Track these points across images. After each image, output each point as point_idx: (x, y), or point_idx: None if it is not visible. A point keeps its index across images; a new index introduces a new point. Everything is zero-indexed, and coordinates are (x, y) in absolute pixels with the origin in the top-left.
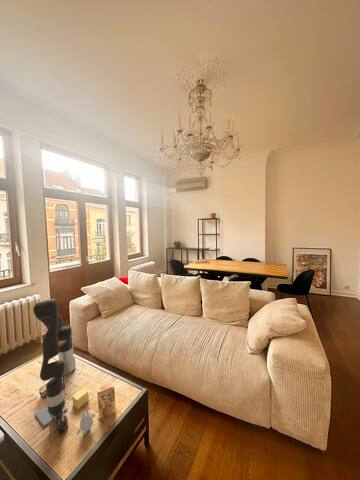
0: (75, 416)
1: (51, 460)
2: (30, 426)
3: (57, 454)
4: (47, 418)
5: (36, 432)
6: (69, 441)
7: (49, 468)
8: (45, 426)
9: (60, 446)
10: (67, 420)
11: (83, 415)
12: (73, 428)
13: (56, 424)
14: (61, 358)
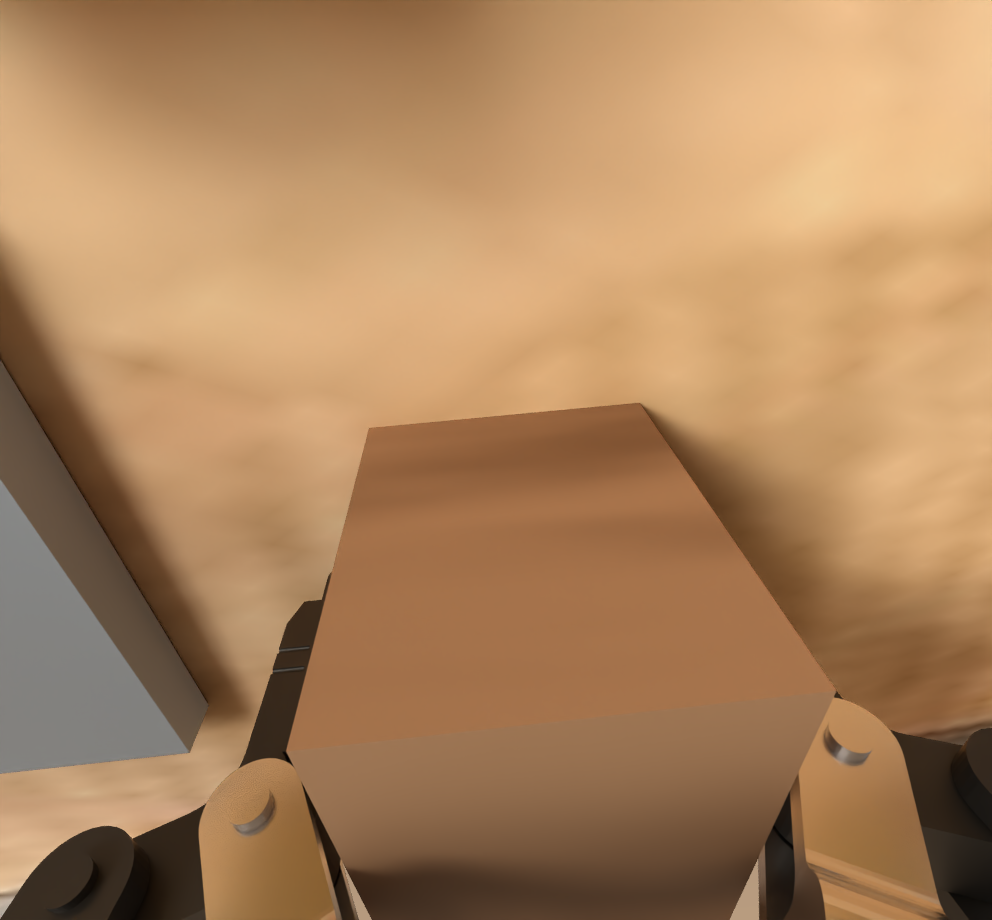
0: (468, 67)
1: (894, 714)
2: (19, 808)
3: (917, 661)
4: (4, 692)
5: (230, 773)
6: (970, 495)
7: (950, 738)
8: (199, 691)
9: (860, 612)
10: (740, 554)
11: None
12: (813, 323)
13: (691, 906)
14: None
